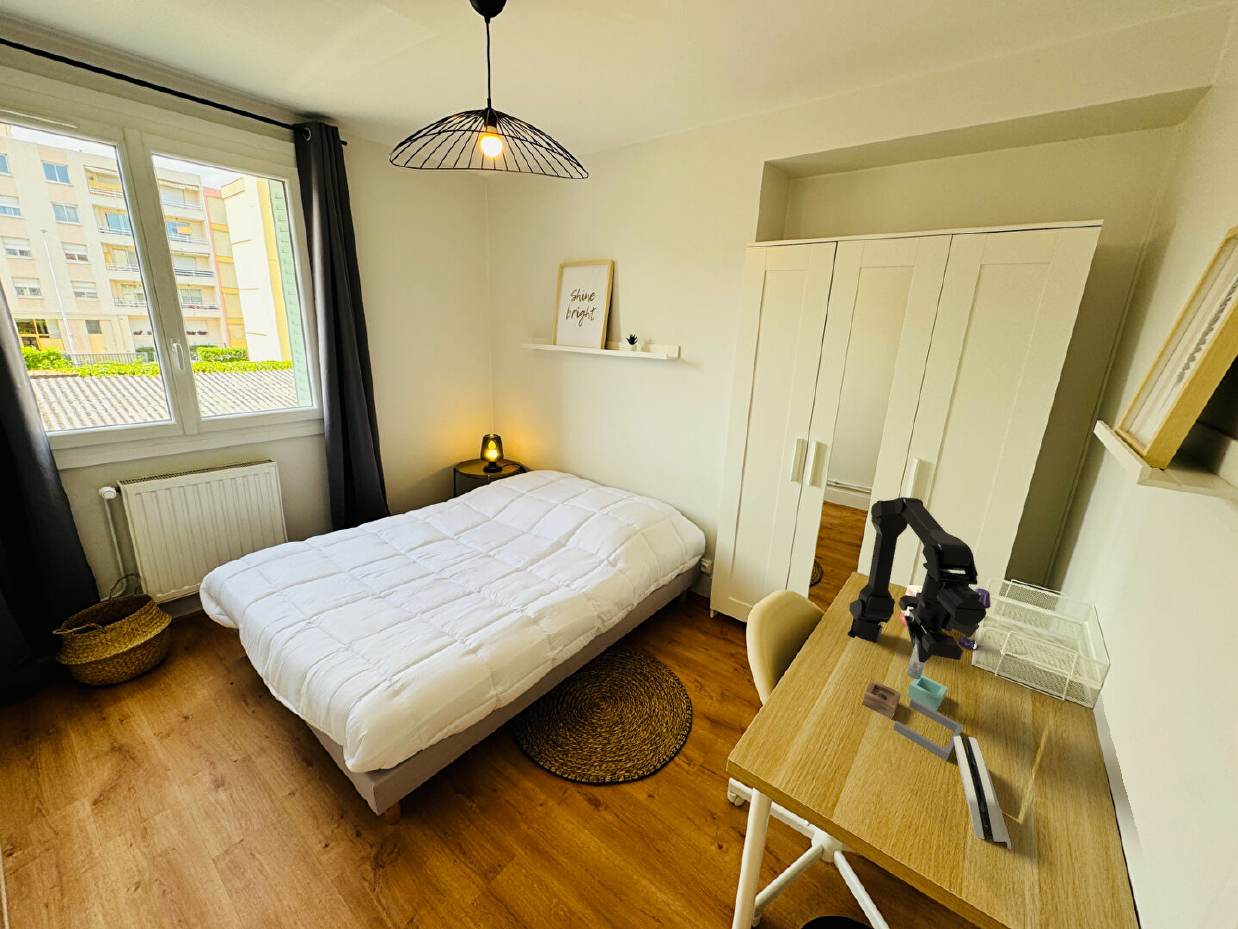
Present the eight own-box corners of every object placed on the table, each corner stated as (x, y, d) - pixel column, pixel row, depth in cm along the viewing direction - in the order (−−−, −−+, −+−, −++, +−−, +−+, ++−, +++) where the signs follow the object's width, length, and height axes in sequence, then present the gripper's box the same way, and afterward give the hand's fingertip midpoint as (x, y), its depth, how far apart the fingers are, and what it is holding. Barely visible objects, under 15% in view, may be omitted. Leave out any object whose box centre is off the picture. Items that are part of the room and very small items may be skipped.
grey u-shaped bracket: (892, 732, 101) (895, 722, 100) (909, 707, 108) (912, 698, 107) (945, 764, 94) (948, 754, 93) (960, 735, 101) (963, 726, 100)
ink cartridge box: (897, 619, 141) (909, 575, 137) (914, 619, 141) (926, 575, 137) (914, 637, 133) (927, 591, 129) (932, 638, 133) (945, 592, 129)
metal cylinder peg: (903, 673, 107) (913, 640, 105) (908, 667, 109) (918, 634, 107) (918, 682, 105) (929, 648, 102) (923, 675, 107) (934, 642, 104)
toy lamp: (954, 642, 132) (970, 589, 127) (959, 636, 135) (975, 584, 130) (975, 652, 128) (992, 598, 123) (980, 645, 131) (997, 592, 126)
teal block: (906, 698, 111) (910, 684, 110) (914, 686, 115) (918, 673, 113) (935, 714, 107) (939, 700, 105) (943, 701, 110) (947, 687, 109)
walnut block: (861, 708, 107) (864, 693, 106) (868, 693, 112) (872, 679, 110) (890, 723, 104) (894, 708, 102) (897, 707, 108) (901, 693, 107)
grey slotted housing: (1012, 852, 79) (1003, 800, 77) (977, 846, 81) (968, 795, 79) (987, 770, 93) (979, 725, 92) (958, 767, 95) (950, 723, 94)
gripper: (1003, 630, 91) (980, 696, 96) (959, 580, 108) (941, 638, 113) (938, 619, 93) (919, 684, 98) (905, 572, 110) (890, 629, 115)
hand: (919, 657), depth 106 cm, fingers closed on metal cylinder peg, 3 cm apart
